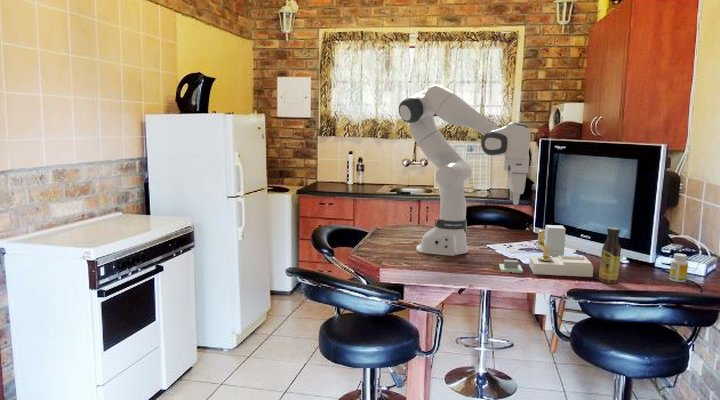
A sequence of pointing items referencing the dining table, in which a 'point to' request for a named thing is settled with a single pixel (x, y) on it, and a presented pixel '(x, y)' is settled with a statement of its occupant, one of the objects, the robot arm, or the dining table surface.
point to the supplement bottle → (679, 268)
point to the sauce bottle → (610, 257)
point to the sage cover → (510, 266)
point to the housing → (562, 266)
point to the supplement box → (555, 239)
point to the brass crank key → (543, 246)
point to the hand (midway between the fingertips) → (514, 202)
